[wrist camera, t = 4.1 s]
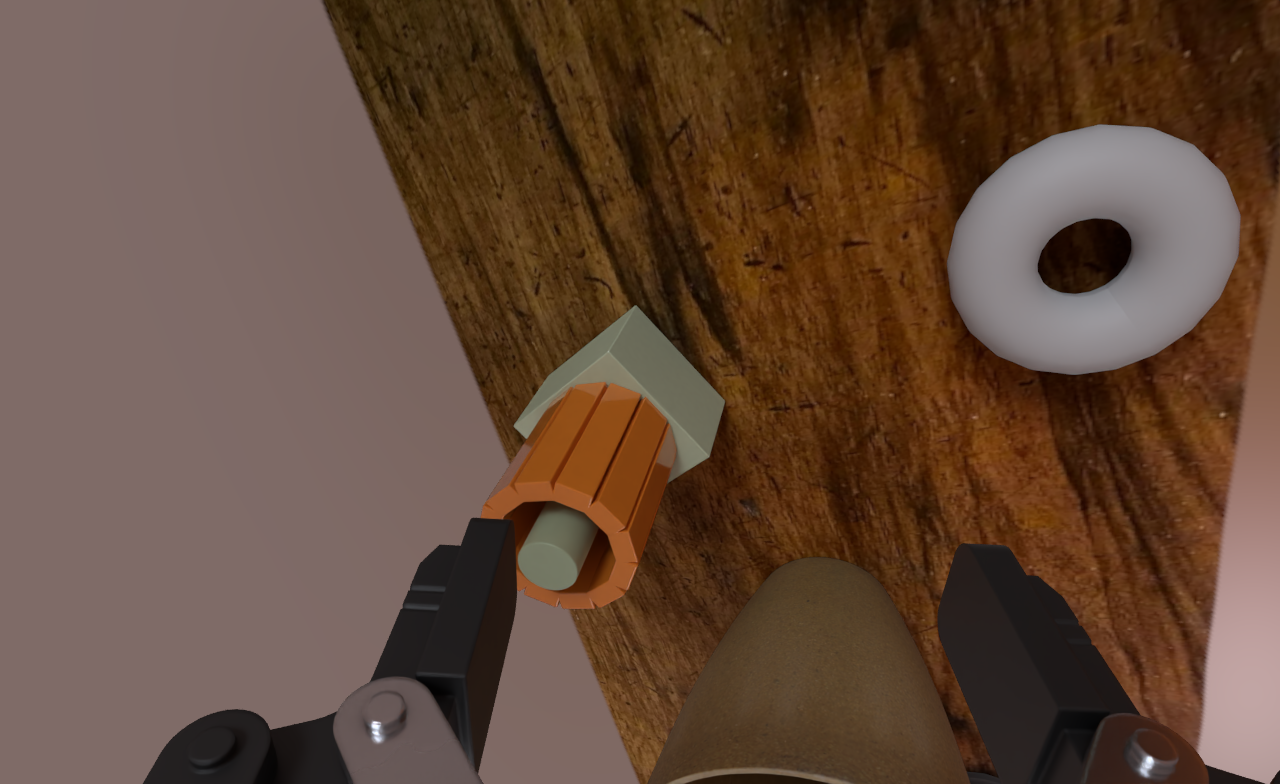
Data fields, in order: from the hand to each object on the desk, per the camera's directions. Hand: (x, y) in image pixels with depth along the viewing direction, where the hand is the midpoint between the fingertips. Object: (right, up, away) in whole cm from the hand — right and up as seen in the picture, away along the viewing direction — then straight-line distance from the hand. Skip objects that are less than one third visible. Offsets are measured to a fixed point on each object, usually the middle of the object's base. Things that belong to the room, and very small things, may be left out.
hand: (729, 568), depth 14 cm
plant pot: (+9, -9, +31) cm, 33 cm away
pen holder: (-3, +1, +22) cm, 22 cm away
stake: (-2, +3, +26) cm, 26 cm away
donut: (+16, +9, +17) cm, 26 cm away
